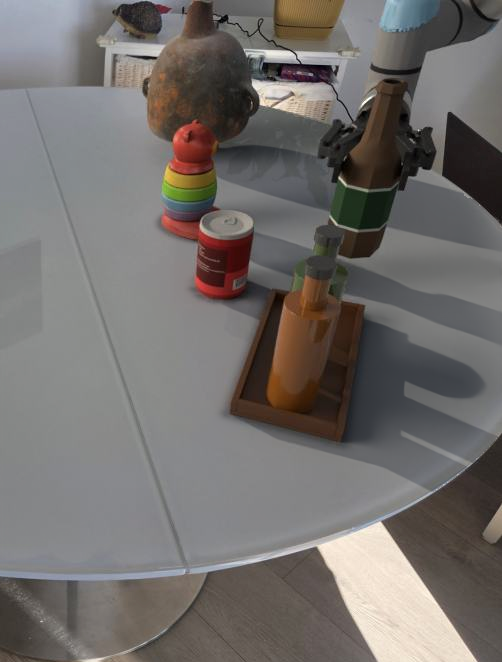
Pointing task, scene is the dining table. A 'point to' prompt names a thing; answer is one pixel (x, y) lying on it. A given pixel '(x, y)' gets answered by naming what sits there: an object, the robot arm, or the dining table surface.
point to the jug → (200, 80)
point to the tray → (335, 383)
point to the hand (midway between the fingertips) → (369, 177)
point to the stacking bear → (190, 180)
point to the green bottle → (327, 245)
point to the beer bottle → (370, 176)
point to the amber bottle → (304, 339)
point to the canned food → (223, 253)
